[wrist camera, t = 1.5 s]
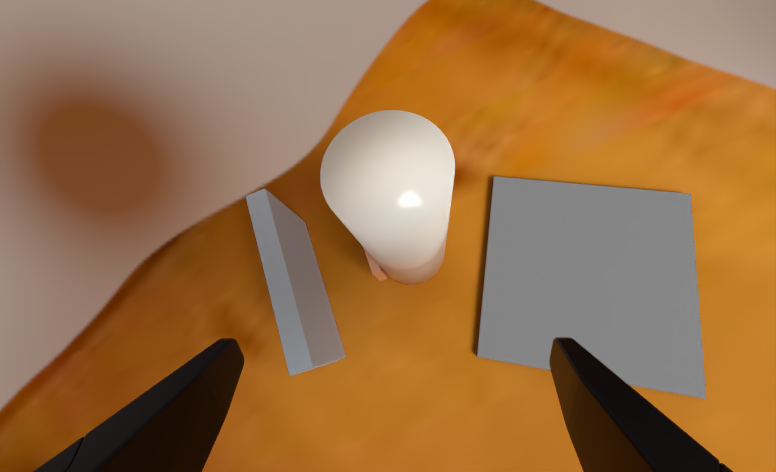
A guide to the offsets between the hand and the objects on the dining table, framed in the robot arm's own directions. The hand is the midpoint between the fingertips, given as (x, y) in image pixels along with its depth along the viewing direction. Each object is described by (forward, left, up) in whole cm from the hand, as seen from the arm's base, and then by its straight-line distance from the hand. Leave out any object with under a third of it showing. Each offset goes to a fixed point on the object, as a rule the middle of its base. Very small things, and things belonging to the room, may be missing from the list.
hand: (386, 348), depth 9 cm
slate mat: (+6, -10, -12) cm, 17 cm away
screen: (+2, +7, -12) cm, 14 cm away
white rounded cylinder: (+6, +1, -12) cm, 14 cm away
